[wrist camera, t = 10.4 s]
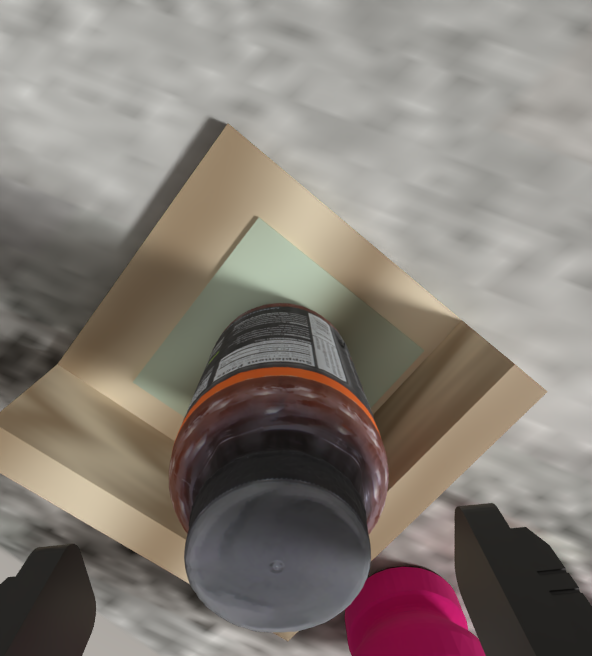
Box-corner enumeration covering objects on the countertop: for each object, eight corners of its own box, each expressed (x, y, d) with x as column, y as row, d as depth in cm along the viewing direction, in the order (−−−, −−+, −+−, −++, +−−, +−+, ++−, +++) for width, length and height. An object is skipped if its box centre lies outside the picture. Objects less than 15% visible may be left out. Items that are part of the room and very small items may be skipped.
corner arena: (47, 383, 22) (-33, 453, 16) (230, 125, 19) (207, 105, 13) (287, 537, 25) (288, 641, 19) (480, 336, 22) (547, 391, 16)
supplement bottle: (342, 429, 22) (397, 679, 11) (210, 422, 22) (135, 669, 11) (357, 303, 20) (441, 453, 9) (214, 292, 20) (128, 435, 9)
